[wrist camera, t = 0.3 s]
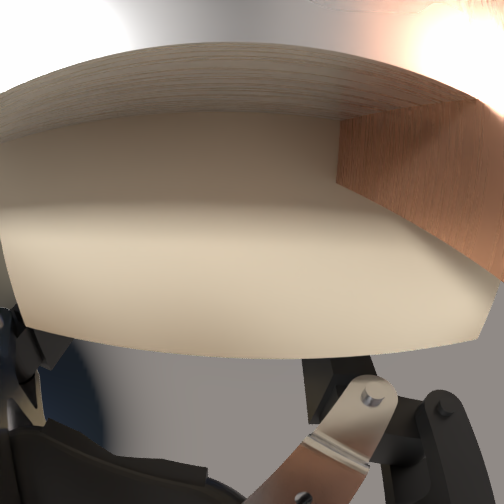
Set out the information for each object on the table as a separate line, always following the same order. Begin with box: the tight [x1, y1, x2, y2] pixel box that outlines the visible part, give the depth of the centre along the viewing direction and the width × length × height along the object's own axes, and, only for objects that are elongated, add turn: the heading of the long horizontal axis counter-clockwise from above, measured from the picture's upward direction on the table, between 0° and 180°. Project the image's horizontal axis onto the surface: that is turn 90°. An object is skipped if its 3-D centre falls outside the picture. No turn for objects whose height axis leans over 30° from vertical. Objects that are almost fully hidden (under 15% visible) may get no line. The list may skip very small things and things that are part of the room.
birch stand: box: [0, 112, 501, 359], centre depth 18 cm, size 12×12×32 cm
